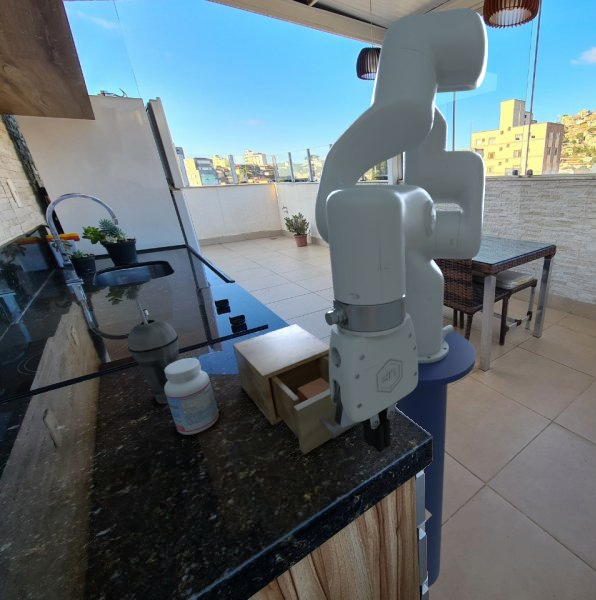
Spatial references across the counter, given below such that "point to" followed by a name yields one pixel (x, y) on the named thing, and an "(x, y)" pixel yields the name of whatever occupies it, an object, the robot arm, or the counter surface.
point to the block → (312, 389)
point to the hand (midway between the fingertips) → (377, 442)
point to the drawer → (306, 404)
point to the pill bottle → (190, 396)
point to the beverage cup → (154, 351)
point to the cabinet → (274, 361)
